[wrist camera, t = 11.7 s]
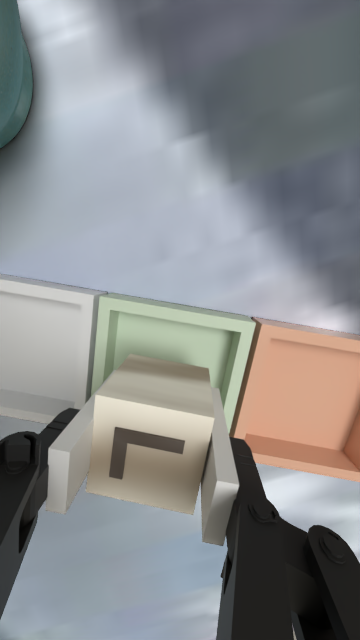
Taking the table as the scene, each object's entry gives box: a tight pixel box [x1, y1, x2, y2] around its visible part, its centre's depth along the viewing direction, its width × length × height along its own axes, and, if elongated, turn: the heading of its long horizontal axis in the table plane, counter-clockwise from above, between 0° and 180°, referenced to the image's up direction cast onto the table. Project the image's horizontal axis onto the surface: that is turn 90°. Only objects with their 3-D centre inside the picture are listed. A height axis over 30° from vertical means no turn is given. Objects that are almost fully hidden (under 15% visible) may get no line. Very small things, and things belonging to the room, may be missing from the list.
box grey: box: [0, 274, 108, 424], centre depth 18 cm, size 11×11×2 cm
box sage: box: [91, 293, 256, 434], centre depth 17 cm, size 11×11×2 cm
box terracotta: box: [229, 317, 360, 482], centre depth 17 cm, size 11×11×2 cm
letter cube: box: [86, 354, 215, 515], centre depth 12 cm, size 5×5×5 cm
